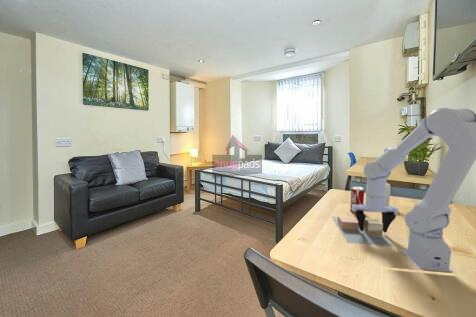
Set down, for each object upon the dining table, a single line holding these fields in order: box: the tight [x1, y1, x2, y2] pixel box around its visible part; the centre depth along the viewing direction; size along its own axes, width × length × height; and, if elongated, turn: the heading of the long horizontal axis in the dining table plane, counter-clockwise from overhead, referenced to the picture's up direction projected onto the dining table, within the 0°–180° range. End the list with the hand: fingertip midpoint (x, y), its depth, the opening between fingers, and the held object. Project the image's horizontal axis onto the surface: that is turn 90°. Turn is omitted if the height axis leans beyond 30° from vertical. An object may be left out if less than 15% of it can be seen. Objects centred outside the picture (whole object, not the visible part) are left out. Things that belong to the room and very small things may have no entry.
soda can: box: [349, 186, 365, 214], centre depth 98 cm, size 5×5×12 cm
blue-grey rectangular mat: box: [331, 216, 393, 247], centre depth 81 cm, size 22×14×1 cm, turn 169°
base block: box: [337, 215, 359, 230], centre depth 83 cm, size 6×6×3 cm
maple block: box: [364, 217, 384, 237], centre depth 77 cm, size 4×4×5 cm
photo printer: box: [384, 182, 392, 206], centre depth 109 cm, size 10×4×12 cm, turn 28°
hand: (372, 230), depth 77 cm, fingers open, 7 cm apart
